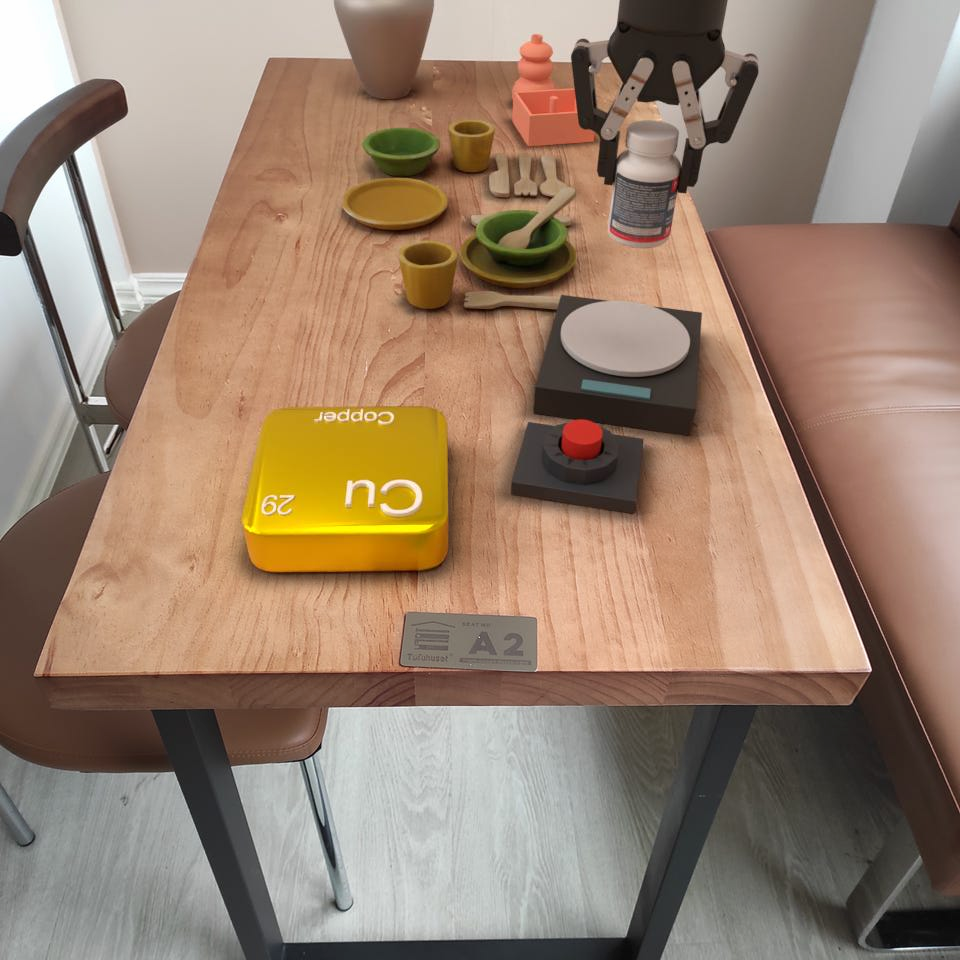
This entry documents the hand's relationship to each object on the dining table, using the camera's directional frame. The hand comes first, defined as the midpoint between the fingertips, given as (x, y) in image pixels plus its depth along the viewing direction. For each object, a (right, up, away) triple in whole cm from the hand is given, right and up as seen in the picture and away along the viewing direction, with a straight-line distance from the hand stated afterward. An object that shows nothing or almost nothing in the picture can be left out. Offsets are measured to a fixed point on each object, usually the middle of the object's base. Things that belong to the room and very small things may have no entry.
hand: (645, 184), depth 75 cm
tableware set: (-16, +7, +36) cm, 40 cm away
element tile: (-23, -26, 0) cm, 35 cm away
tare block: (-5, -23, +3) cm, 24 cm away
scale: (0, -14, +14) cm, 19 cm away
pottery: (-4, +29, +61) cm, 67 cm away
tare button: (-5, -21, +1) cm, 22 cm away
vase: (-27, +36, +68) cm, 81 cm away
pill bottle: (0, -3, +3) cm, 5 cm away
